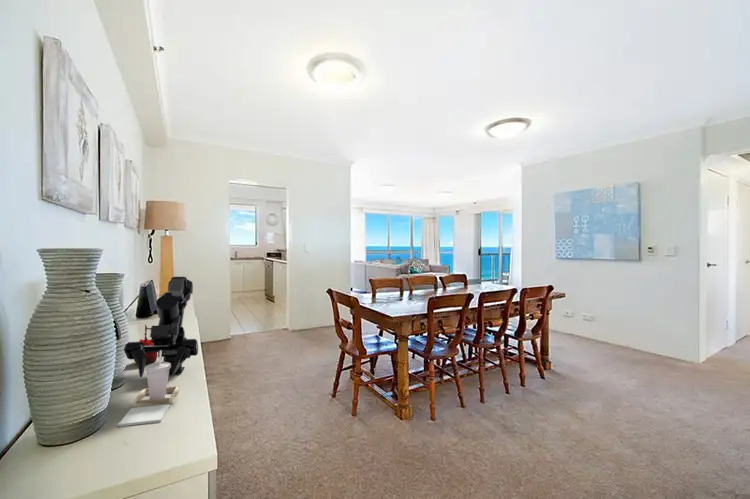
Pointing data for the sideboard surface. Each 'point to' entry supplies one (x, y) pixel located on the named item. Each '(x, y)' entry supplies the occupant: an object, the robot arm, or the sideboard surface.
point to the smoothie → (158, 378)
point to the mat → (144, 415)
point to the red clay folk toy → (151, 355)
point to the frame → (152, 402)
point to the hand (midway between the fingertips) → (156, 375)
